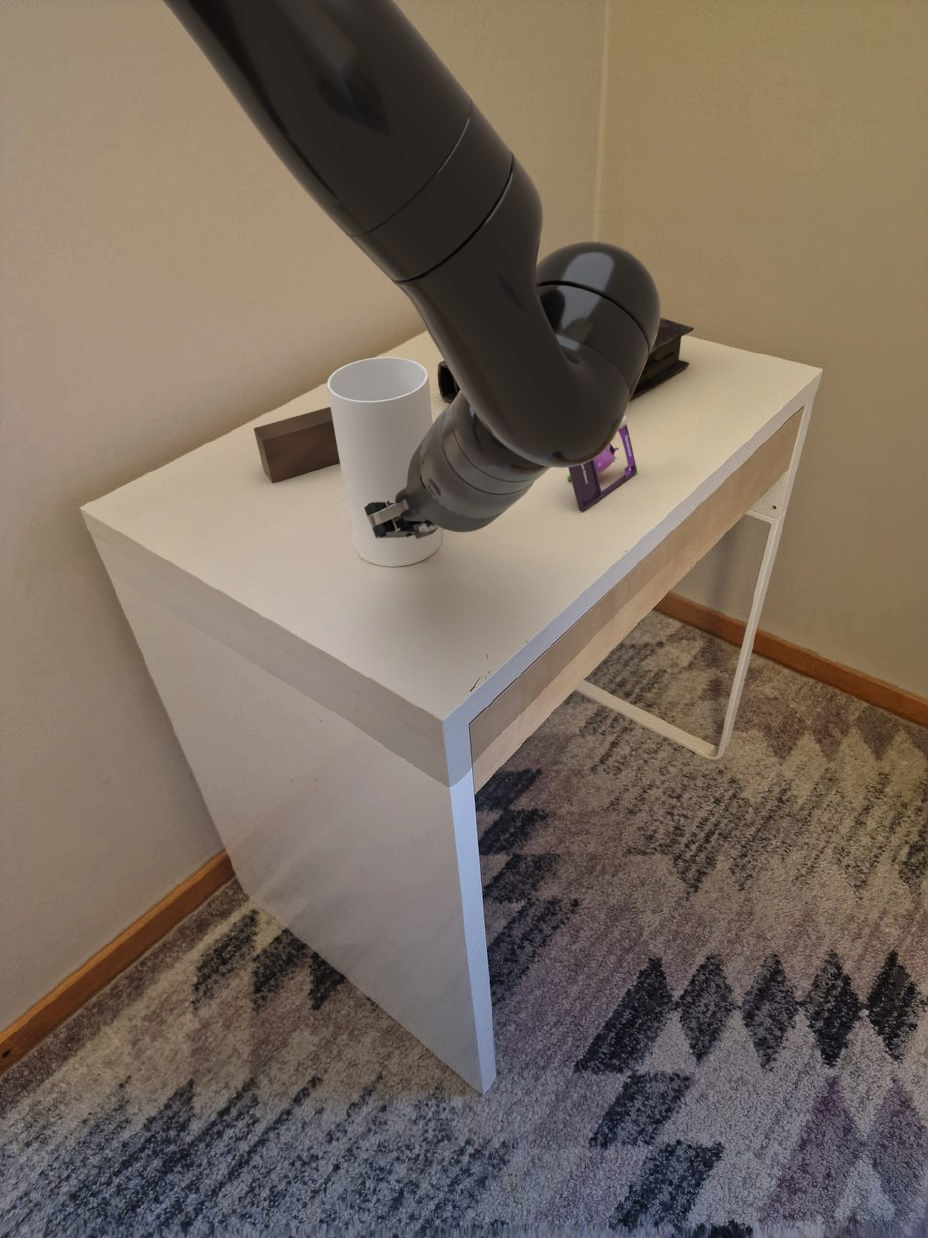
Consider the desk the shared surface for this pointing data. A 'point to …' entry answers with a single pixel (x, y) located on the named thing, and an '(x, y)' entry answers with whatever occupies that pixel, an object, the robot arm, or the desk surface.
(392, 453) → the cup
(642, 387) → the diary
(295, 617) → the desk surface
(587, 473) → the packaged eggplant toy
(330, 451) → the bar
